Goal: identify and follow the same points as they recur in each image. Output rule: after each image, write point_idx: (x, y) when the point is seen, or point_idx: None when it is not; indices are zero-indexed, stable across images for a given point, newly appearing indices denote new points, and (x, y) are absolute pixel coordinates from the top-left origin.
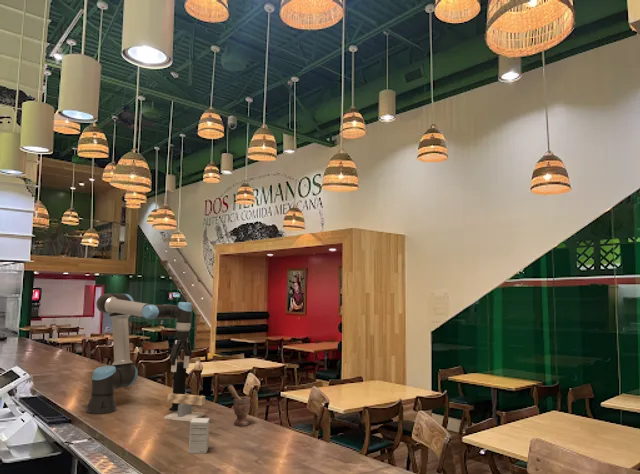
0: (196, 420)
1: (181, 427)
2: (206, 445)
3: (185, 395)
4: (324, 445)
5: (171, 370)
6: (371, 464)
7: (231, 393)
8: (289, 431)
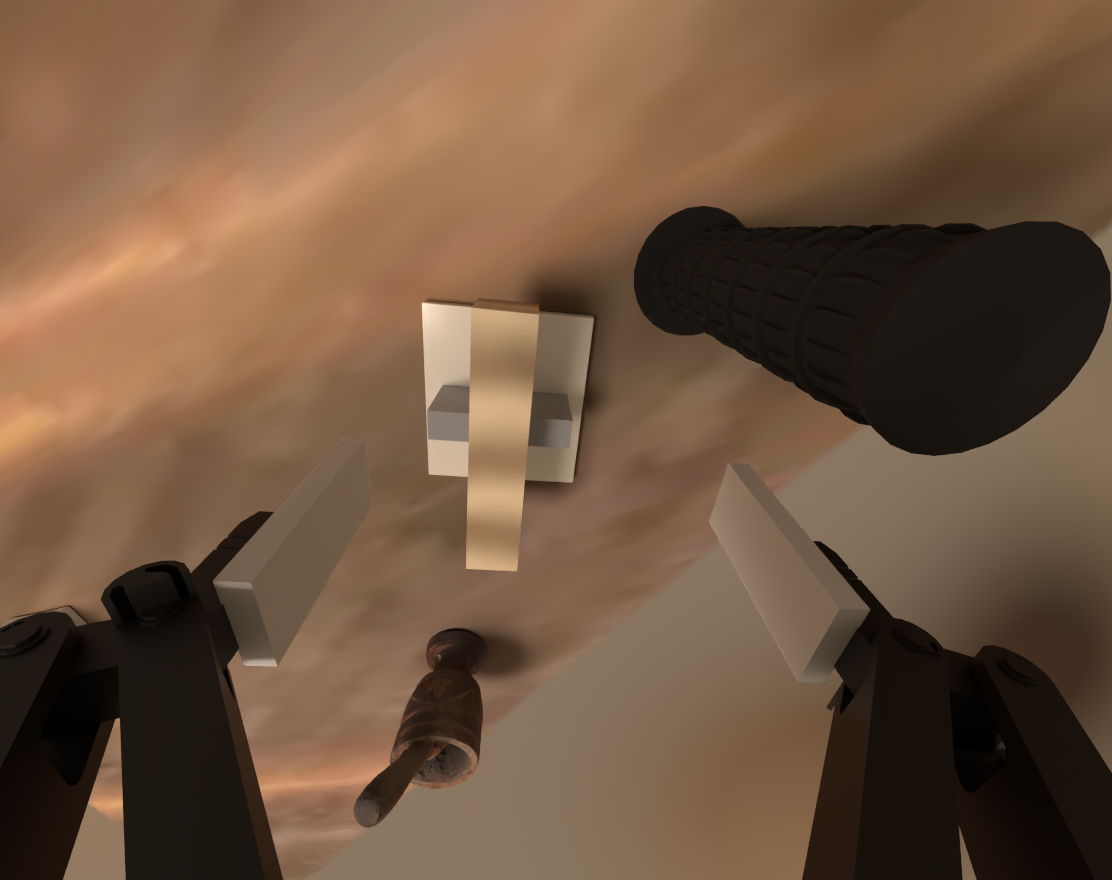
0: None
1: (306, 464)
2: None
3: (491, 454)
4: (331, 837)
5: (338, 450)
6: None
7: (387, 767)
8: None
